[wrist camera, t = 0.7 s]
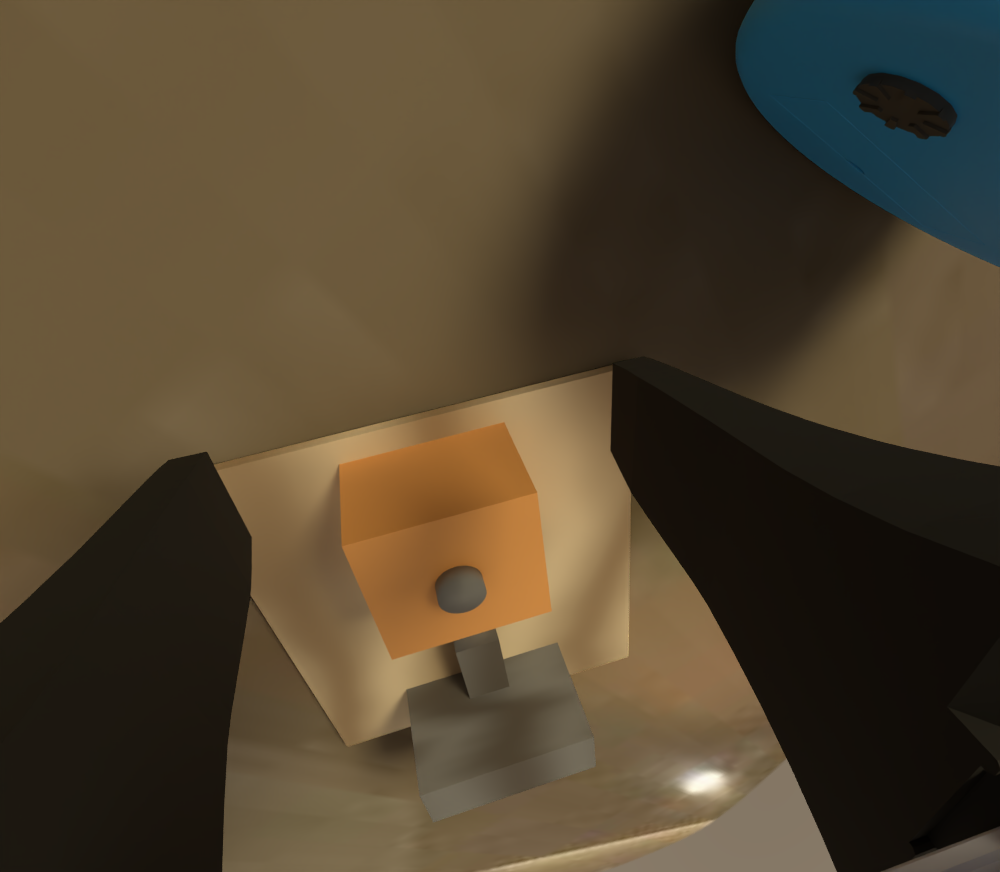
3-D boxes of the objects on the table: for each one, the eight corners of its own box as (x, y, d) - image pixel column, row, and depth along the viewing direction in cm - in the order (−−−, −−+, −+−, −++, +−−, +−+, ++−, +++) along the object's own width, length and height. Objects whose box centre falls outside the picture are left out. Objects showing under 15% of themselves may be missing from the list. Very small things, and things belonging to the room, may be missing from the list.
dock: (347, 739, 30) (350, 855, 26) (179, 472, 19) (136, 601, 14) (625, 650, 32) (671, 744, 28) (628, 361, 21) (707, 444, 16)
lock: (383, 575, 23) (393, 675, 19) (339, 464, 19) (342, 561, 16) (521, 535, 24) (557, 624, 20) (503, 422, 20) (543, 505, 17)
